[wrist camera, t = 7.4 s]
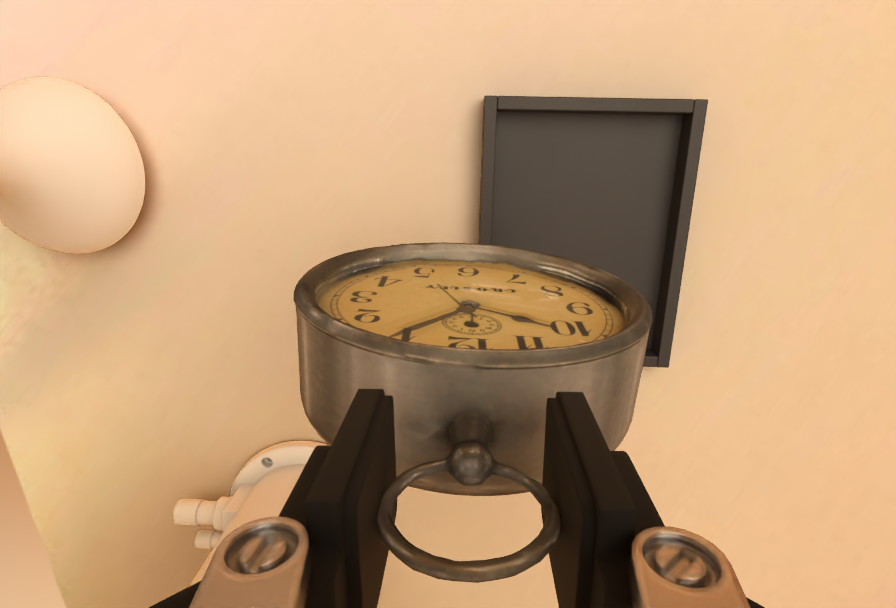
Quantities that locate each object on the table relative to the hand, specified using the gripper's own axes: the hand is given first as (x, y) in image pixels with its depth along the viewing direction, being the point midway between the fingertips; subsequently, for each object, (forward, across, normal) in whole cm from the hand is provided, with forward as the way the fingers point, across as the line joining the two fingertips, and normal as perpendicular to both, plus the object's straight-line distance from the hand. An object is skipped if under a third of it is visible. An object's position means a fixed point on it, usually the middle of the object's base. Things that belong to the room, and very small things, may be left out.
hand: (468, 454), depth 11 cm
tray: (+26, -7, -1) cm, 27 cm away
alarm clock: (+13, 0, 0) cm, 13 cm away
